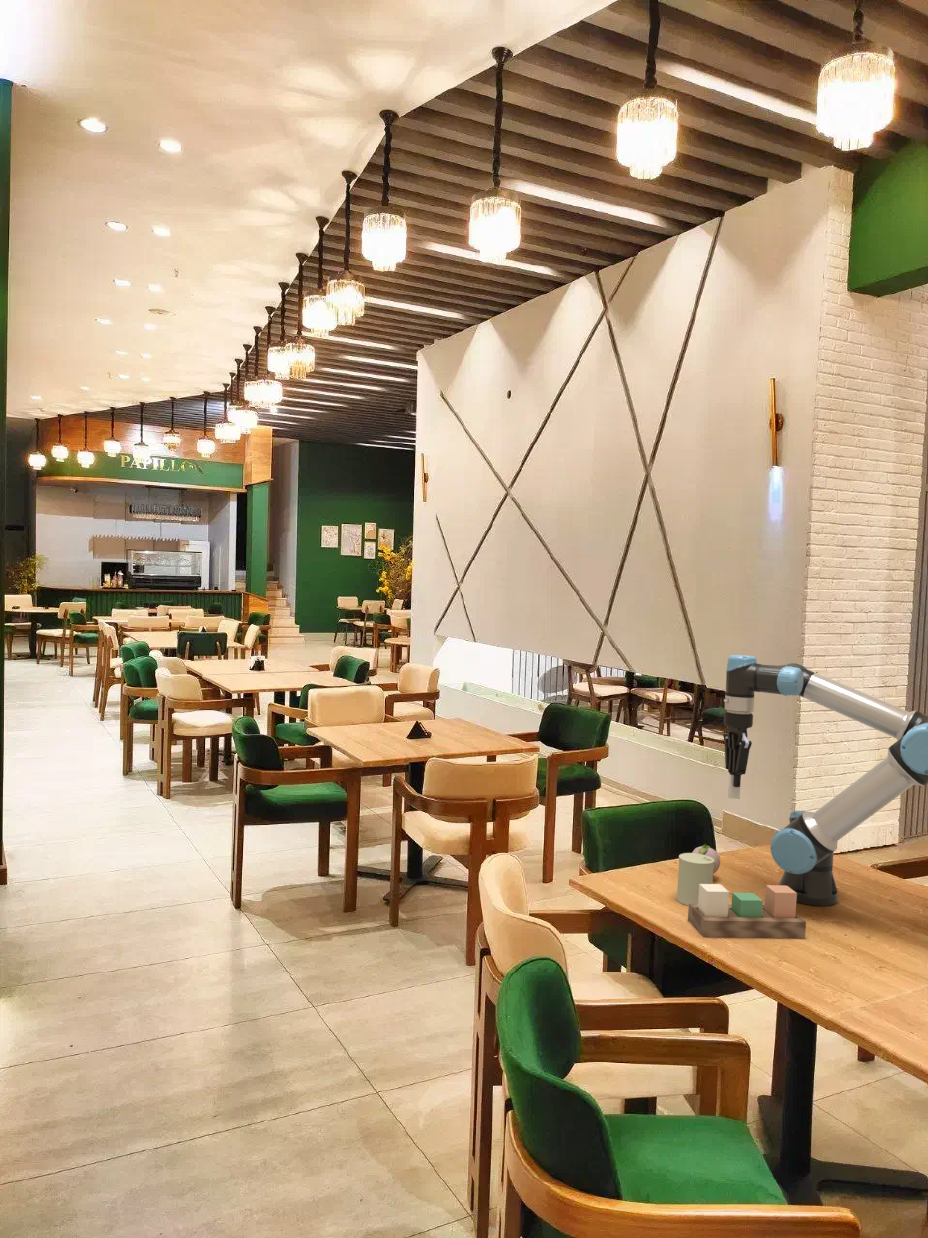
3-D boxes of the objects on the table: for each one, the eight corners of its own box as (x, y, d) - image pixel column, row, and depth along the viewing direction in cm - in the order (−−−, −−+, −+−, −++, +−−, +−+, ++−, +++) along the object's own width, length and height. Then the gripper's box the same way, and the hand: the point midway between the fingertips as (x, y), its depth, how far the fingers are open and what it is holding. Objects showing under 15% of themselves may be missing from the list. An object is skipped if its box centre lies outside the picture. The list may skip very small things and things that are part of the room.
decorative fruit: (719, 885, 248) (721, 850, 248) (689, 881, 250) (691, 846, 250) (719, 875, 257) (721, 841, 257) (690, 871, 259) (692, 837, 259)
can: (713, 909, 229) (716, 863, 228) (676, 905, 230) (679, 859, 230) (710, 897, 238) (713, 853, 237) (675, 893, 239) (678, 849, 239)
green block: (751, 921, 219) (753, 893, 218) (760, 929, 213) (762, 900, 213) (730, 920, 218) (732, 892, 218) (739, 929, 213) (741, 900, 212)
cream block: (718, 912, 218) (720, 884, 217) (727, 920, 212) (729, 891, 212) (697, 912, 217) (699, 884, 217) (705, 920, 212) (707, 891, 212)
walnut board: (784, 921, 222) (785, 905, 222) (805, 938, 211) (806, 922, 211) (687, 919, 220) (688, 904, 220) (703, 937, 209) (704, 920, 209)
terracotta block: (784, 913, 219) (786, 885, 219) (795, 921, 214) (796, 893, 214) (764, 913, 219) (765, 885, 219) (773, 921, 213) (775, 892, 213)
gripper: (715, 708, 246) (711, 792, 247) (735, 714, 233) (730, 803, 234) (741, 709, 247) (736, 792, 248) (762, 715, 234) (757, 804, 235)
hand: (733, 798), depth 241 cm, fingers closed
